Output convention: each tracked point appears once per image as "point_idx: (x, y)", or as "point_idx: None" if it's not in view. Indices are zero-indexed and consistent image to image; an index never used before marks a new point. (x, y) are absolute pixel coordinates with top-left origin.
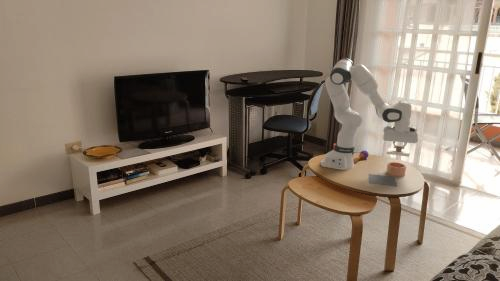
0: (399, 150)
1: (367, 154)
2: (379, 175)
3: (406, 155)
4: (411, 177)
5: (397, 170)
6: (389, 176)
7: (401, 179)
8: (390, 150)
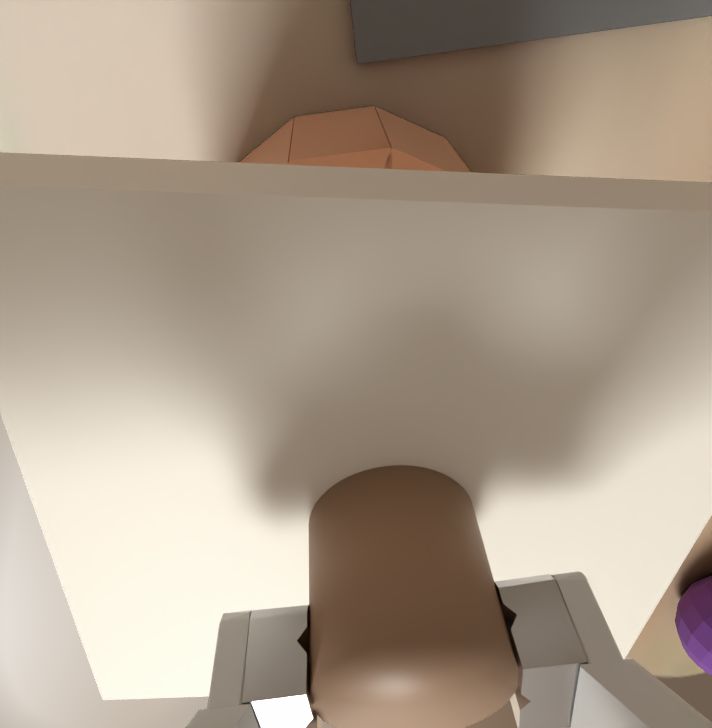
0: (373, 503)
1: (709, 627)
2: (629, 4)
3: (51, 167)
4: None
5: (331, 139)
6: (450, 35)
7: (237, 2)
8: (647, 478)
